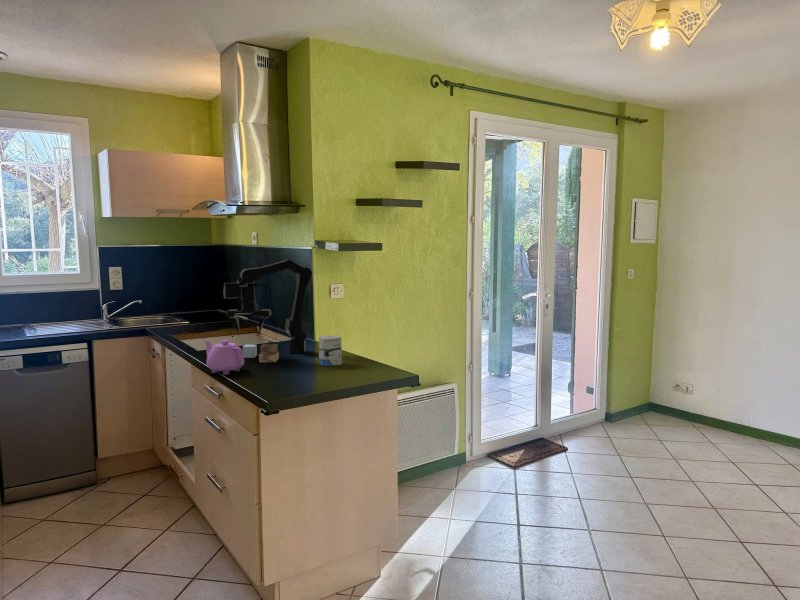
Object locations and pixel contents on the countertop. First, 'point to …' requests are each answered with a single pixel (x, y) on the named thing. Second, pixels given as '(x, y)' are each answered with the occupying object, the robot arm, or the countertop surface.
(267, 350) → the walnut mid slab
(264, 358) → the oak base slab
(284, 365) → the countertop surface
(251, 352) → the pale blue cube
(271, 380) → the countertop surface
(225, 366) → the teapot
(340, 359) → the ink box
